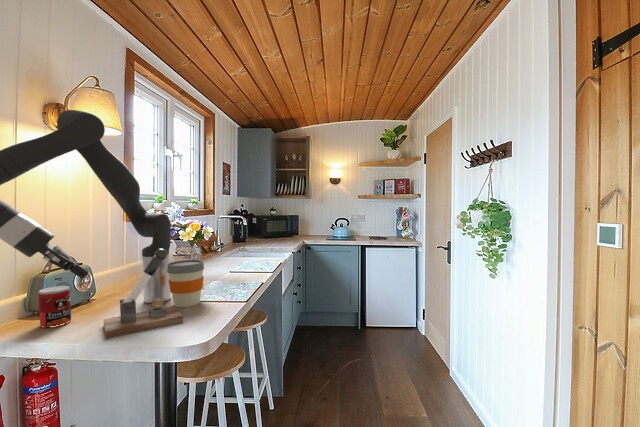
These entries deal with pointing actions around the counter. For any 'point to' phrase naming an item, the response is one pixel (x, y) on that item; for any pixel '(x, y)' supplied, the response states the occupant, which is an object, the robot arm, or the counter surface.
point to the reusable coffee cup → (186, 282)
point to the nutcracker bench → (141, 318)
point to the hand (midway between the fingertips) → (85, 275)
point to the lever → (147, 274)
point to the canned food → (54, 306)
